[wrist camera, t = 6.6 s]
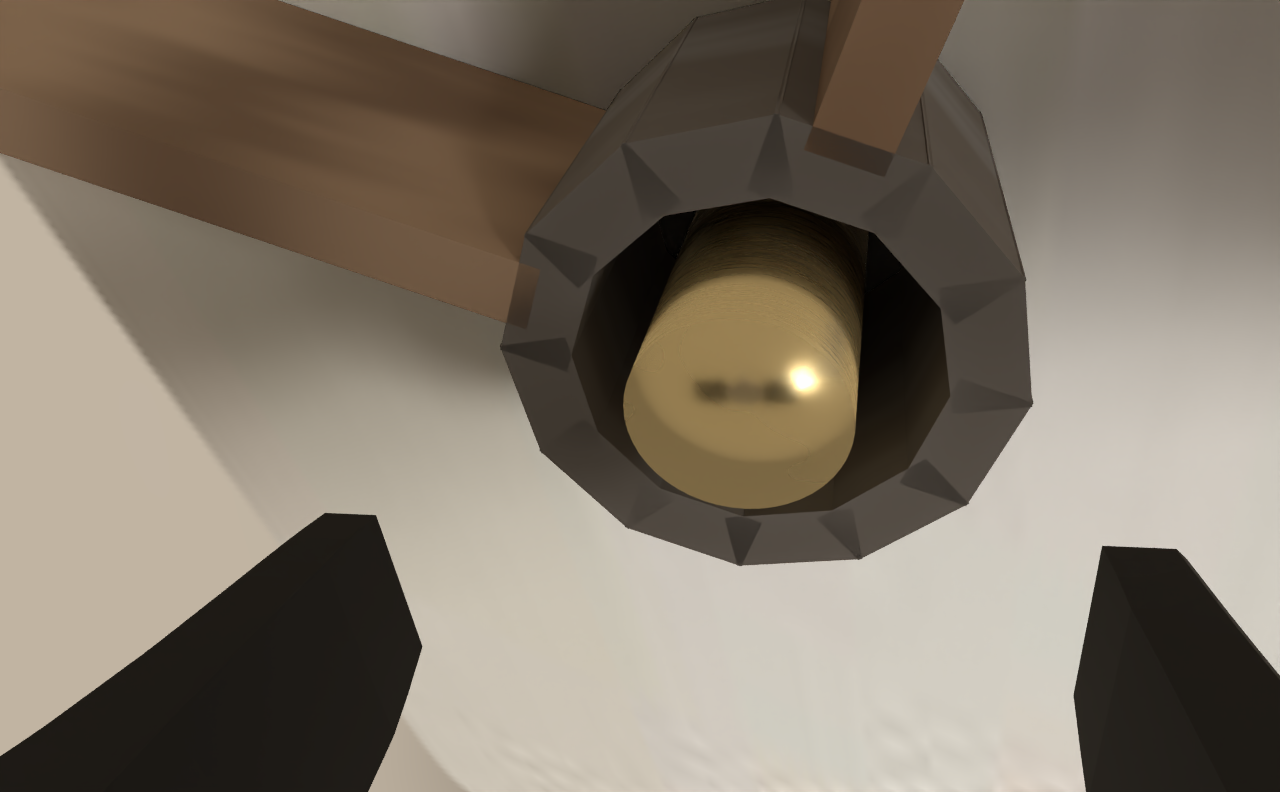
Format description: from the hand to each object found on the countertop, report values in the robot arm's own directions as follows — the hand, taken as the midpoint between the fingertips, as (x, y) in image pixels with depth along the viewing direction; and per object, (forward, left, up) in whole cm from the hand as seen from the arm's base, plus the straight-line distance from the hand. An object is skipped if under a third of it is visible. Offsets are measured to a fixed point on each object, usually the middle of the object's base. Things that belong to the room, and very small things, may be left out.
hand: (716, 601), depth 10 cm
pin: (0, 0, -10) cm, 10 cm away
